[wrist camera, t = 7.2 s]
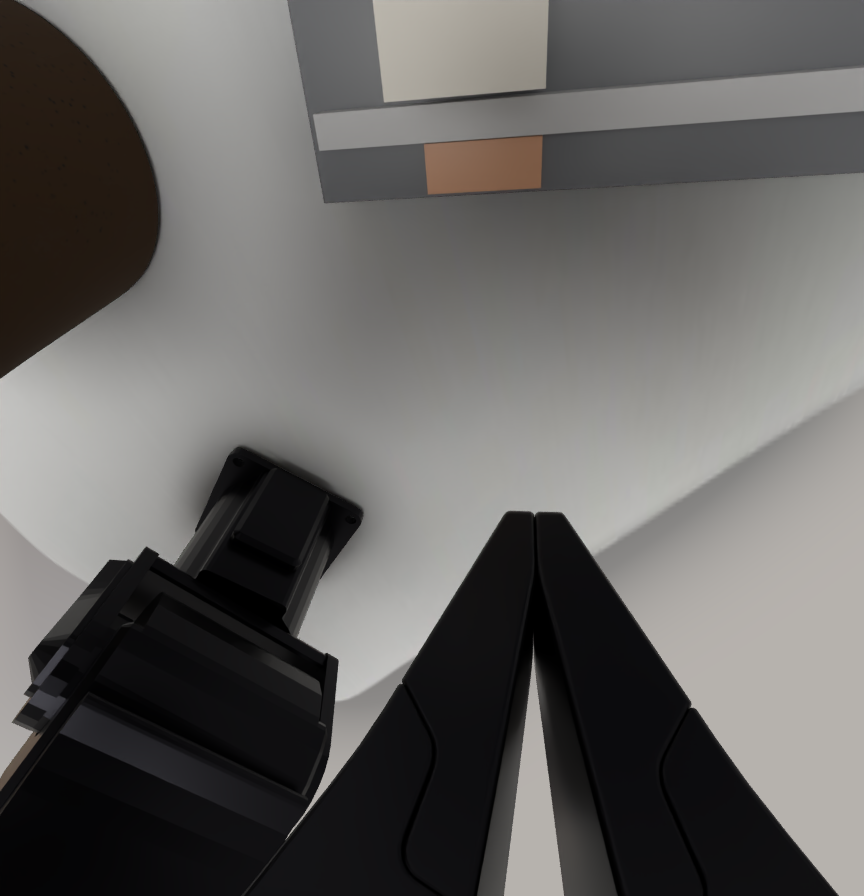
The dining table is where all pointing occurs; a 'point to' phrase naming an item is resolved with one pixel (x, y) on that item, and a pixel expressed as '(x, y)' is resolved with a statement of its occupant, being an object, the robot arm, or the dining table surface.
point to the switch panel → (598, 101)
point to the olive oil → (63, 189)
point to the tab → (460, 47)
